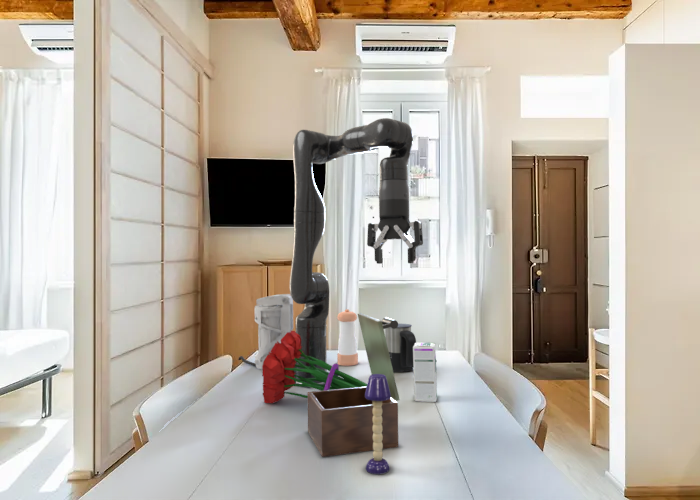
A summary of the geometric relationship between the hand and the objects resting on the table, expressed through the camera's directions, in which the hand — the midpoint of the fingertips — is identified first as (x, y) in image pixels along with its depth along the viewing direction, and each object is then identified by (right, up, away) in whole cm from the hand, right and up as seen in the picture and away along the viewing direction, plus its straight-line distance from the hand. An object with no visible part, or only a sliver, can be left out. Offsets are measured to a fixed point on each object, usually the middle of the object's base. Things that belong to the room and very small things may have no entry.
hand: (394, 263), depth 123 cm
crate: (-11, -36, -21) cm, 43 cm away
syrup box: (+9, -36, +6) cm, 38 cm away
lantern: (-38, -37, +47) cm, 71 cm away
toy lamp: (-6, -36, -35) cm, 51 cm away
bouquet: (-19, -37, +2) cm, 41 cm away
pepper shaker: (-12, -37, +50) cm, 63 cm away
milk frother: (+9, -37, +40) cm, 55 cm away
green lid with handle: (-6, -19, -20) cm, 28 cm away
